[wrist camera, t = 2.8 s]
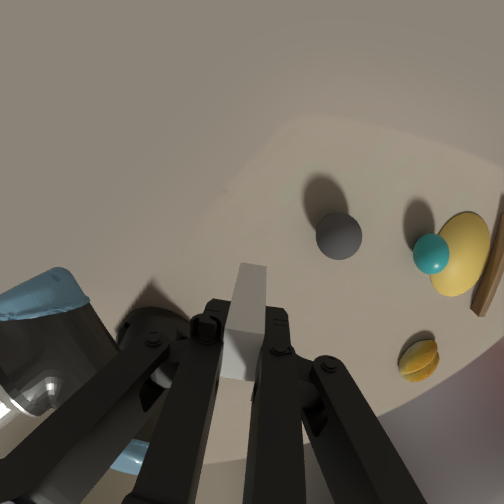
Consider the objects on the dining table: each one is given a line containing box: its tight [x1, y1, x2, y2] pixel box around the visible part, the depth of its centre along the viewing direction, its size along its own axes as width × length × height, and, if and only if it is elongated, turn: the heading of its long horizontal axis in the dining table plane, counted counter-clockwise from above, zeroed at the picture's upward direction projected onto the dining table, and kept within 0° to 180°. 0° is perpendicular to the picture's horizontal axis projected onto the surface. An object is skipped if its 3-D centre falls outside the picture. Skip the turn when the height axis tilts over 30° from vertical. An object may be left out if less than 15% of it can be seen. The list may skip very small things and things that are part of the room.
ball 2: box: [413, 233, 450, 274], centre depth 31 cm, size 6×6×6 cm
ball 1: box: [316, 213, 362, 260], centre depth 31 cm, size 6×6×6 cm
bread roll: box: [399, 340, 439, 382], centre depth 39 cm, size 8×9×4 cm
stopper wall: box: [470, 213, 504, 317], centre depth 32 cm, size 2×18×3 cm, turn 172°
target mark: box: [430, 213, 490, 296], centre depth 33 cm, size 14×14×1 cm
